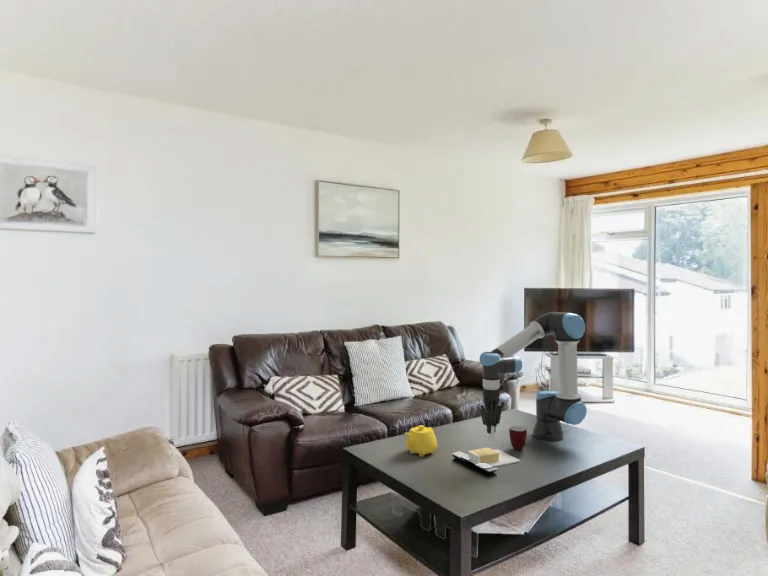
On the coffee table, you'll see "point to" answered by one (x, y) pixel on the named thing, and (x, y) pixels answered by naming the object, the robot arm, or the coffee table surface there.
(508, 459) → the mat
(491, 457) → the slab
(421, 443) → the teapot
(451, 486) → the coffee table surface
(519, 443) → the mug
